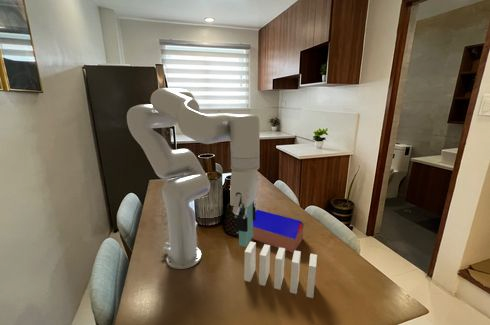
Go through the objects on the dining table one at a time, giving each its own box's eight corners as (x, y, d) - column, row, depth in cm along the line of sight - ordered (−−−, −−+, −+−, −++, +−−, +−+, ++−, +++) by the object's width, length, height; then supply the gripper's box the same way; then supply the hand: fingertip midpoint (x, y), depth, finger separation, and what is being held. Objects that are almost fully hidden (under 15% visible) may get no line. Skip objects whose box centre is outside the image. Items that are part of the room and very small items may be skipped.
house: (262, 227, 111) (262, 204, 109) (303, 239, 101) (305, 215, 99) (249, 239, 101) (249, 214, 99) (294, 254, 91) (295, 227, 89)
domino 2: (244, 280, 78) (244, 251, 75) (250, 268, 83) (250, 241, 80) (250, 282, 77) (250, 252, 74) (255, 270, 82) (255, 242, 80)
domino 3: (258, 284, 76) (259, 254, 73) (263, 272, 82) (264, 244, 79) (264, 285, 75) (265, 256, 73) (269, 273, 81) (270, 245, 78)
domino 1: (239, 245, 64) (238, 208, 62) (246, 234, 70) (246, 200, 67) (245, 247, 64) (245, 209, 61) (253, 235, 69) (252, 201, 67)
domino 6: (306, 296, 71) (308, 265, 69) (308, 282, 77) (310, 253, 74) (313, 298, 71) (316, 267, 68) (314, 284, 76) (317, 254, 73)
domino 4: (274, 288, 74) (275, 258, 72) (277, 275, 80) (279, 247, 77) (280, 289, 74) (281, 259, 71) (283, 276, 79) (285, 248, 77)
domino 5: (289, 292, 73) (291, 261, 70) (292, 279, 78) (294, 250, 76) (296, 294, 72) (298, 263, 69) (298, 280, 78) (300, 251, 75)
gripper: (243, 155, 71) (244, 210, 75) (217, 169, 55) (220, 238, 59) (267, 156, 68) (267, 213, 72) (247, 172, 52) (248, 243, 57)
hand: (246, 224), depth 66 cm, fingers closed on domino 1, 5 cm apart
